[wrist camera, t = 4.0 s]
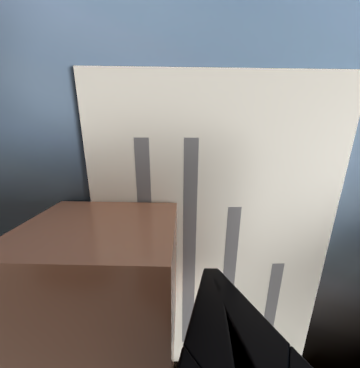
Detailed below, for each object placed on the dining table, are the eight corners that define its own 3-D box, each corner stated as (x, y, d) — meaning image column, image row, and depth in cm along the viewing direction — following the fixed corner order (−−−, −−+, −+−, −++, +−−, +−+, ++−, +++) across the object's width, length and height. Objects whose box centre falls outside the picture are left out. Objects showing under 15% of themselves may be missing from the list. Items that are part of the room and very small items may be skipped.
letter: (299, 353, 11) (301, 357, 11) (113, 359, 11) (111, 363, 11) (365, 71, 7) (371, 69, 7) (76, 67, 7) (73, 65, 7)
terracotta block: (176, 296, 10) (171, 408, 6) (77, 294, 10) (5, 403, 6) (176, 202, 8) (171, 266, 4) (61, 201, 8) (-46, 262, 4)
